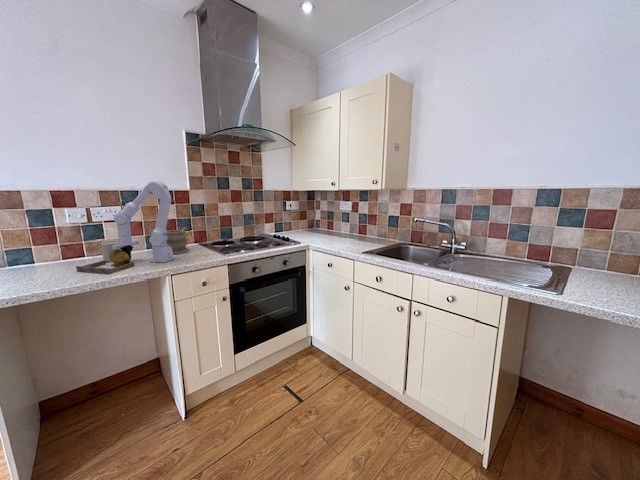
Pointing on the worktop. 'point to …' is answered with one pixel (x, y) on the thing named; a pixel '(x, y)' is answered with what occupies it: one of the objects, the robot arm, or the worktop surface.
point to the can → (107, 248)
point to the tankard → (177, 241)
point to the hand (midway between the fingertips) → (128, 259)
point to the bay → (95, 269)
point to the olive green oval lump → (119, 257)
